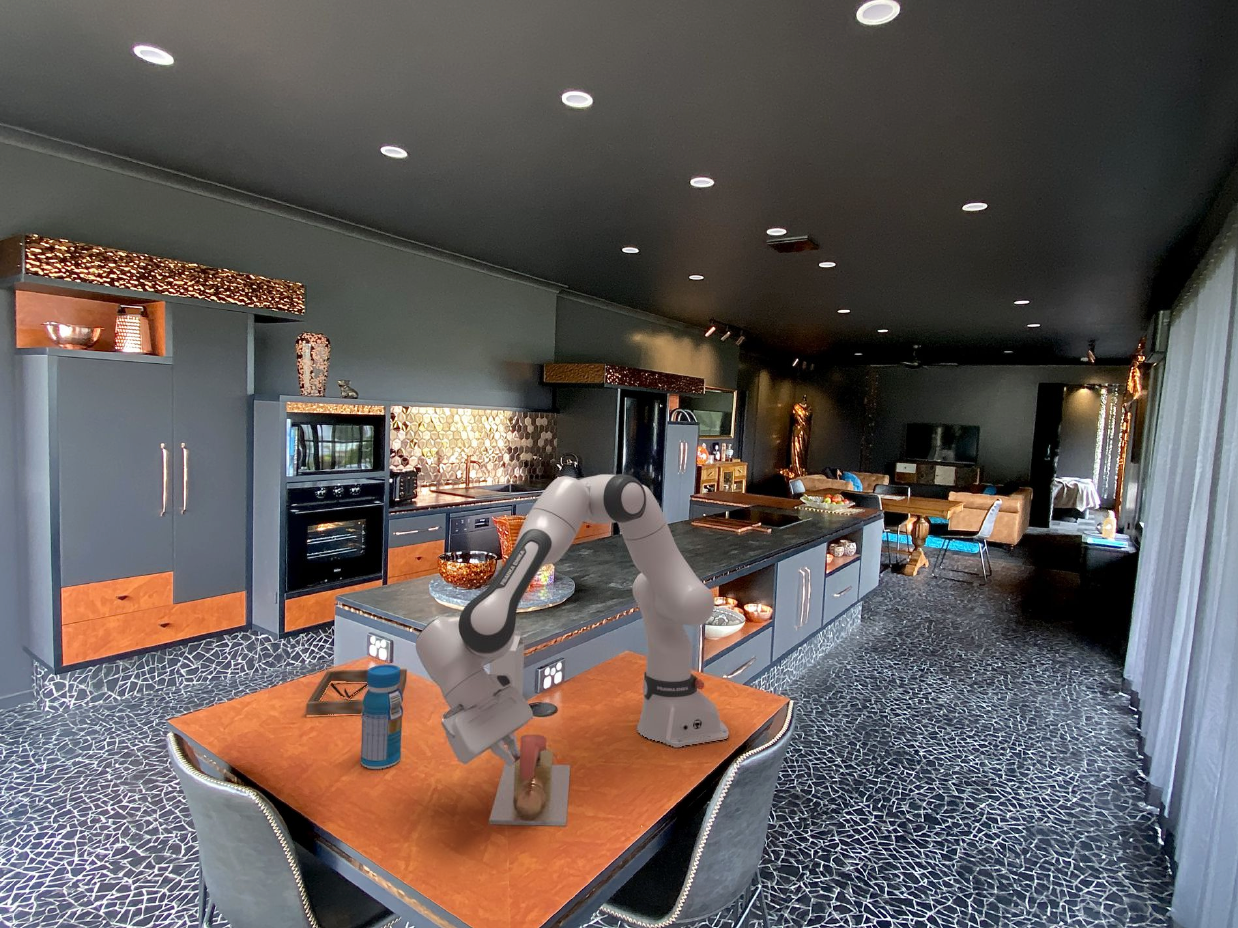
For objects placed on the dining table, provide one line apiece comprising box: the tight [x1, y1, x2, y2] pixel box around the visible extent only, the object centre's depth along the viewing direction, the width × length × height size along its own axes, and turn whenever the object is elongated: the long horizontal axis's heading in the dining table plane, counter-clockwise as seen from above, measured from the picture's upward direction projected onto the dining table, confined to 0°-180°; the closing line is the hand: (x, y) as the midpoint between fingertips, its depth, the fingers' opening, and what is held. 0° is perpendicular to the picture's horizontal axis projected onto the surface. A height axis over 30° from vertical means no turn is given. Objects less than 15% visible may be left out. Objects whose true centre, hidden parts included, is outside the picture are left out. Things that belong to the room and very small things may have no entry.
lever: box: [519, 734, 547, 780], centre depth 128 cm, size 16×4×7 cm, turn 0°
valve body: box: [488, 747, 571, 827], centre depth 134 cm, size 22×14×9 cm, turn 2°
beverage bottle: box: [360, 664, 404, 770], centre depth 145 cm, size 8×8×20 cm
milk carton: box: [488, 631, 525, 695], centre depth 182 cm, size 7×7×19 cm
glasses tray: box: [305, 668, 408, 716], centre depth 180 cm, size 21×24×4 cm
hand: (515, 761), depth 122 cm, fingers closed
